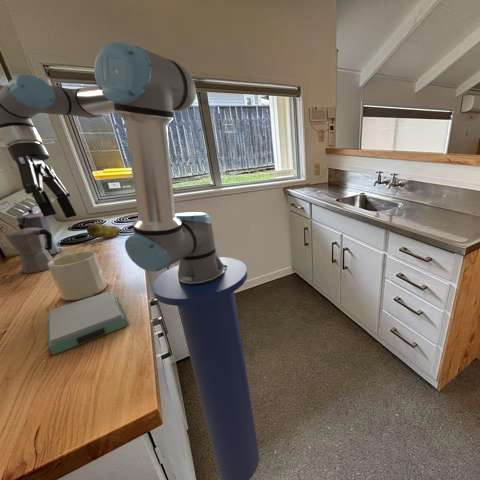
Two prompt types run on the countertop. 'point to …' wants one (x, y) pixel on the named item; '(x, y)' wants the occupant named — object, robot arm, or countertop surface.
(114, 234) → the potato
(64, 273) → the cream round pot
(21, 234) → the coffeepot
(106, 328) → the kitchen scale
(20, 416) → the countertop surface
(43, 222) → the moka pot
